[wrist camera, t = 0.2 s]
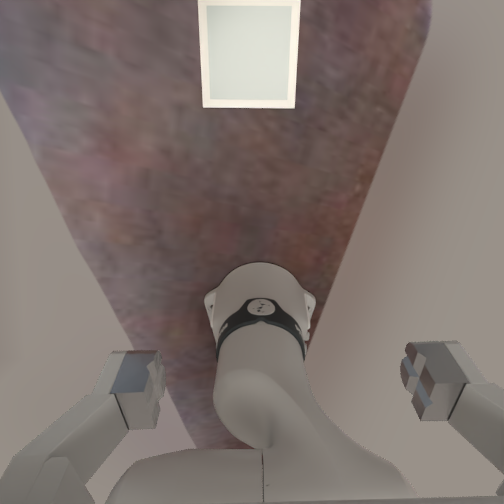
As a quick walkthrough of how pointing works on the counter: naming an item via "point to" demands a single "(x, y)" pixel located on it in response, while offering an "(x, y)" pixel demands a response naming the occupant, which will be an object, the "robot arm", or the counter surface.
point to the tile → (249, 52)
